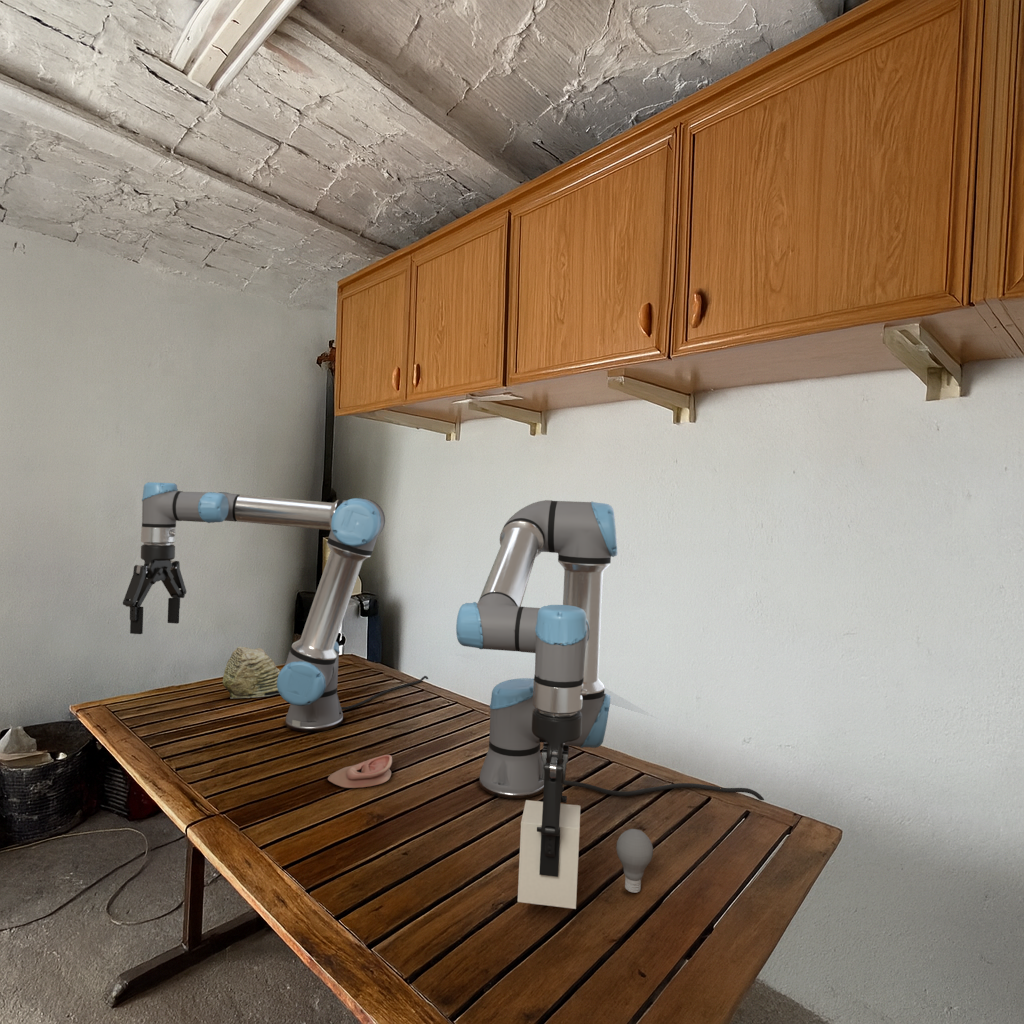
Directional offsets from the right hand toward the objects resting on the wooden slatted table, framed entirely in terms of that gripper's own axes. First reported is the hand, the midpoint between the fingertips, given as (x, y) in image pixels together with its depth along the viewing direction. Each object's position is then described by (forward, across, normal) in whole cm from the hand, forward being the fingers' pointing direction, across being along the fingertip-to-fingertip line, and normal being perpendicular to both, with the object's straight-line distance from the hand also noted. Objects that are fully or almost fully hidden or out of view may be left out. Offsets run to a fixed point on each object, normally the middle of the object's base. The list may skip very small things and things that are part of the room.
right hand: (550, 859), depth 96 cm
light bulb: (+10, +11, -14) cm, 20 cm away
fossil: (+10, +90, +98) cm, 134 cm away
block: (+5, 0, 0) cm, 5 cm away
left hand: (-18, +51, +104) cm, 117 cm away
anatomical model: (+10, +42, +45) cm, 62 cm away
